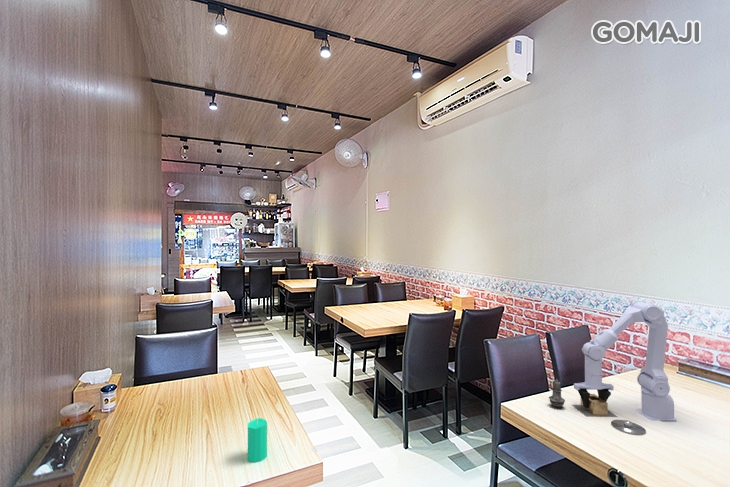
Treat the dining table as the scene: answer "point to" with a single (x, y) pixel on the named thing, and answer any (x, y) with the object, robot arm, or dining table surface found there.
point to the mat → (590, 413)
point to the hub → (628, 427)
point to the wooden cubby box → (596, 405)
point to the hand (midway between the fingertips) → (593, 407)
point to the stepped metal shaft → (556, 396)
